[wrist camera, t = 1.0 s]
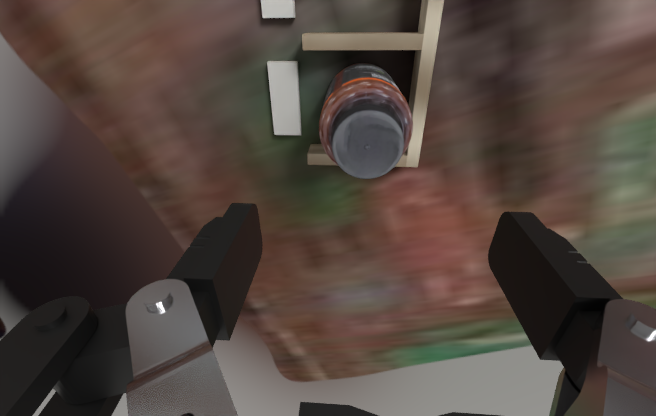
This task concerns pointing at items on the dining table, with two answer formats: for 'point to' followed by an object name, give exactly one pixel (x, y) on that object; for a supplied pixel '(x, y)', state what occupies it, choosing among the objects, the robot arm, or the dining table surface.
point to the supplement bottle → (365, 121)
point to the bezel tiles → (283, 77)
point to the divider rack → (418, 41)
